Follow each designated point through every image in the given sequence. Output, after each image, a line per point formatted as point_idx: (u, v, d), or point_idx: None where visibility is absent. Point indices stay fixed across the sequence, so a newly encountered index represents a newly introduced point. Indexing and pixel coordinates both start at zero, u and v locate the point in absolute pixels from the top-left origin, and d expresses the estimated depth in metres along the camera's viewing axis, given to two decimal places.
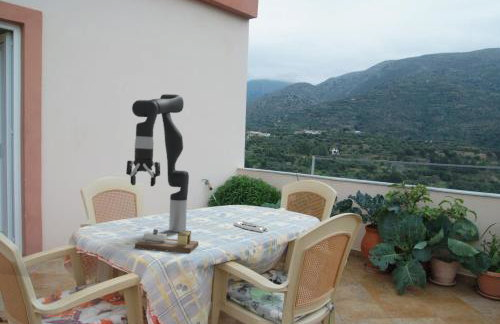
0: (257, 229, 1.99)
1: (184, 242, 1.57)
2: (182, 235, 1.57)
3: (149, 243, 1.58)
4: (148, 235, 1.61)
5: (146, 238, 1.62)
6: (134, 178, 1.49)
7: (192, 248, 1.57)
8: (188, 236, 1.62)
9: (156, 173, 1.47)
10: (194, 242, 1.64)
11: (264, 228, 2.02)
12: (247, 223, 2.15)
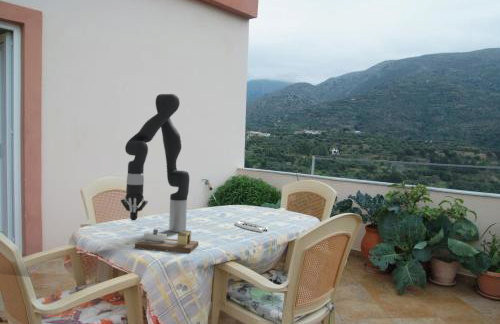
0: (257, 229, 1.99)
1: (184, 242, 1.57)
2: (182, 235, 1.57)
3: (149, 243, 1.58)
4: (148, 235, 1.61)
5: (146, 238, 1.62)
6: None
7: (192, 248, 1.57)
8: (188, 236, 1.62)
9: (138, 209, 1.62)
10: (194, 242, 1.64)
11: (264, 228, 2.02)
12: (248, 223, 2.16)
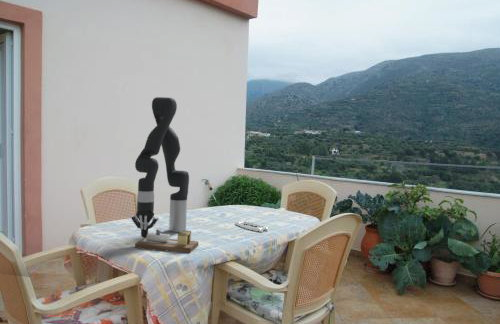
0: (257, 229, 1.99)
1: (184, 242, 1.57)
2: (182, 235, 1.57)
3: (149, 243, 1.58)
4: (151, 235, 1.61)
5: (149, 238, 1.61)
6: None
7: (192, 248, 1.57)
8: (188, 236, 1.62)
9: (148, 226, 1.62)
10: (194, 242, 1.64)
11: (264, 228, 2.02)
12: (248, 223, 2.16)
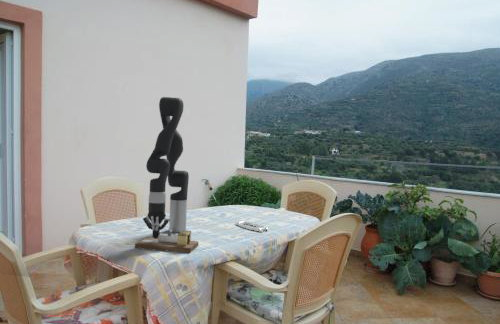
0: (257, 229, 1.99)
1: (184, 242, 1.57)
2: (182, 235, 1.57)
3: (149, 243, 1.58)
4: (163, 236, 1.60)
5: (161, 239, 1.61)
6: None
7: (192, 248, 1.57)
8: (188, 236, 1.62)
9: (160, 227, 1.61)
10: (194, 242, 1.64)
11: (264, 228, 2.02)
12: (249, 223, 2.16)
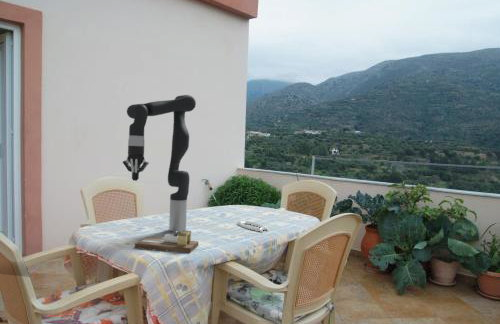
0: (257, 229, 2.00)
1: (184, 242, 1.57)
2: (182, 235, 1.57)
3: (149, 243, 1.58)
4: (168, 237, 1.60)
5: (166, 240, 1.60)
6: None
7: (192, 248, 1.57)
8: (188, 236, 1.62)
9: (139, 169, 1.70)
10: (194, 242, 1.64)
11: (264, 228, 2.03)
12: (250, 223, 2.17)
